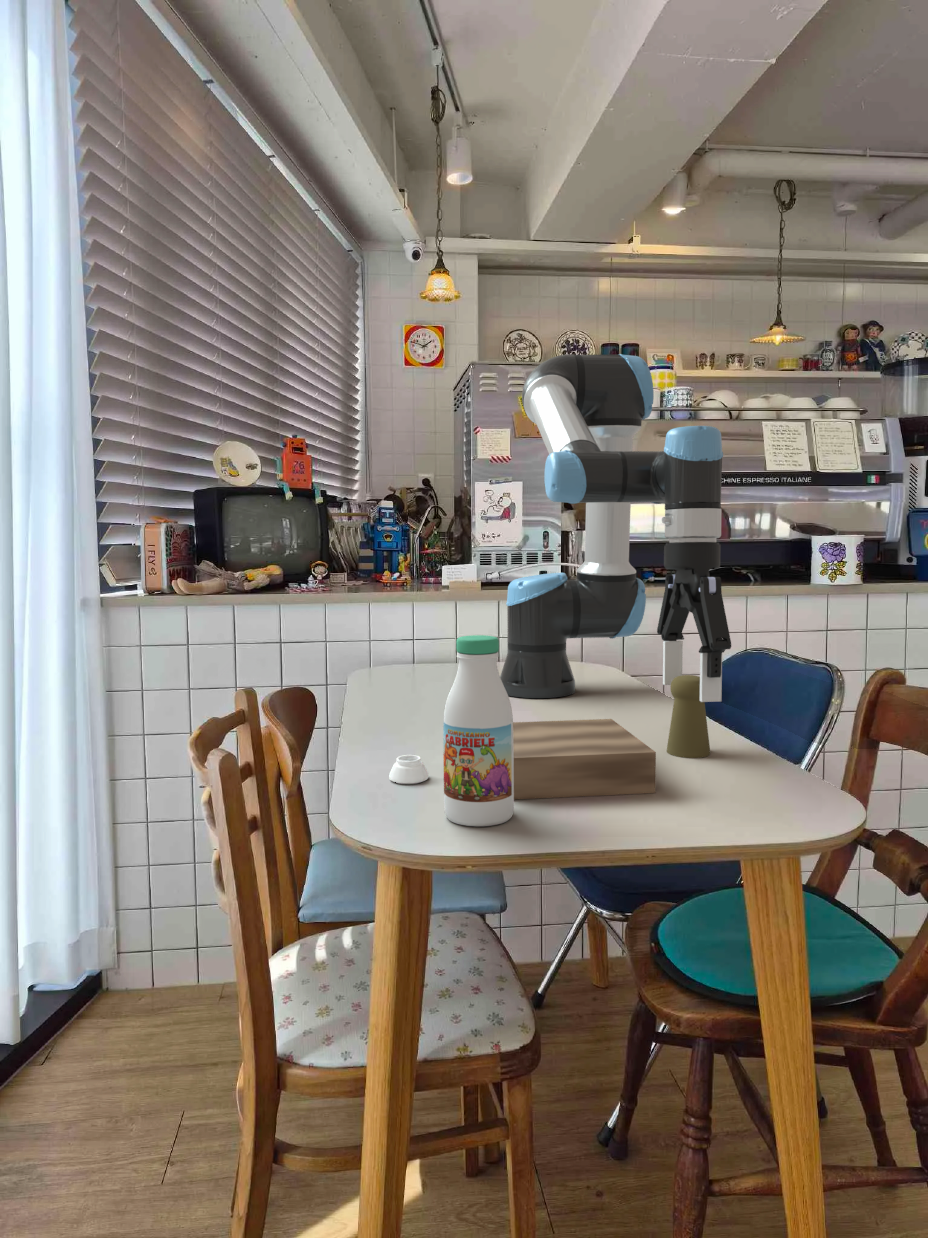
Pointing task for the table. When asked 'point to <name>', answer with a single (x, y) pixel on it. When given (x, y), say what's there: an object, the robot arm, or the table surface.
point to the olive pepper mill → (688, 720)
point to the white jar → (408, 770)
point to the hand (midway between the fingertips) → (690, 692)
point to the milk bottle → (478, 738)
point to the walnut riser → (580, 760)
